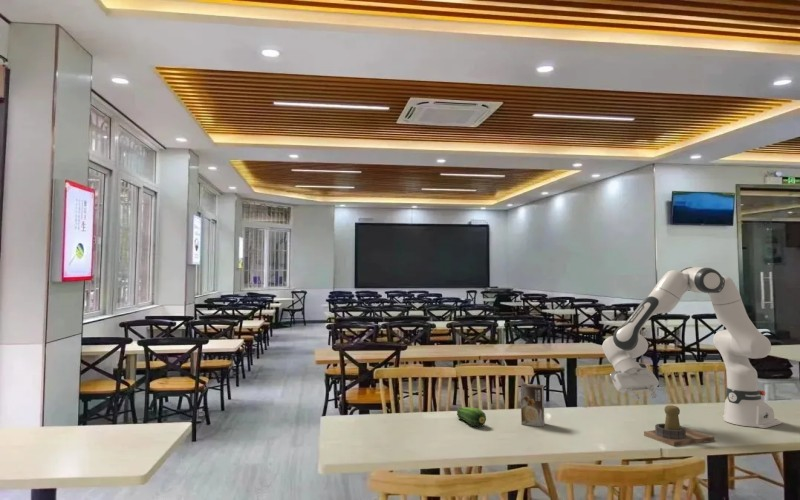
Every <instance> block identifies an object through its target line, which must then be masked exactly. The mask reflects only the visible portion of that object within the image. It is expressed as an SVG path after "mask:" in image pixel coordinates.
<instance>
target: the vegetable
mask: <svg viewBox="0 0 800 500" xmlns="http://www.w3.org/2000/svg"><path fill="white" fill-rule="evenodd" d="M456 416H457V417H458V419H460V420H462V421H464V422H466V423H468V424H469V425H471V426H472V427H479V428H480V427H483V426H484V424H485V423H486V421H487V416H486V414H485V412H484V411H483V410H481V408H478V407H477V408H476V407H467V406H465V407H464V406H463V407H459V408H458V409H457V410H456Z"/></svg>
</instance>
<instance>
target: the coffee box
mask: <svg viewBox="0 0 800 500" xmlns="http://www.w3.org/2000/svg"><path fill="white" fill-rule="evenodd" d="M544 394H545V393H544V385H543V384H533V383H522V384H521V386H520V408H521V409H520V413H521V414H520V416H521V417H520V419H521V421H520V422H521V425H523V426H532V427H544V426H545V397H544V396H545V395H544Z"/></svg>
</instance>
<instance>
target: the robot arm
mask: <svg viewBox="0 0 800 500" xmlns="http://www.w3.org/2000/svg"><path fill="white" fill-rule="evenodd" d="M688 291H689V292H694V293H698V294H699V293H705V294H707V295H709V298H710V300H711V304H712V307H713V309H714V313H715V316H716V319H717V321H718V322H719V323H720V324H721V325H722V326H724V328H725V329H723V330H719V331H717V332H716V333H715V334H714V335H713V338H712V339H713V340H712V342H713V346H714V347H715V348H716V350H717V351H718V352H719V353H720V356H721V357H722V361H723V363H724V367H725V372H726V387H725V394H726V398H725V400H724V412H723V414H722V418H723V420H724V422H727V423H729V424H732V425H733V424H734V425H737V426H744V427H751V428H752V427H753V428H760V429H766V428H771V427H774V426H778V425H782V421H781V420H780V419H777V418H775V411H774V409H773V407H772V406H770V405H769V404H768V403H766V401H764V400H763V399H762V396H766V392H765V390H761V389H760V390H759V384H758V371H757V370H756V368H755V367H754V366H753V365H752V363H751V362H750V359H763V358H766V357H768V355H769V354H771V351H772V344H771V341H770V340H769V338H768V337H767V336H765V335H764V334H763V333H761V332H760V330H758V328H757V327H756V326H755V325H754V323H753V322H752V320H751V319H750V318H749V315H748V313H747V310H746V307H745V305H744V303H743V300H742V296H741V294H740V291H739V290H738V287H737V285H736V284H735V282H734V279H733V278H731V277H730V276H727V275H721V274H720V272H719V271H717V270H716V269H714V268H711V267H706V266H705V267H704V266H693V267H692V266H689V267H686V268H684V269H682V270H677V269H672V270H668V271H667V272H666V273H665V274H663V276H662V277H661V278H660V279H659V281H657V283H656V284H655V286H654V288H653V289H652V291H651V292H650V293H649V294H648V296H646V298H644V299H643V300H642V301H641V303H640V304H639V305H638V306H637V307H636V308H635V310H634V311H633V312H632V313H631V315H630V316H629V317H628V319H627V320H626V321H625V322H624V323H622V324H621V325H620V326H618V327H617V328H616V329H615V330H614V332H613V335H612V336H608V337H606V338H605V340H603V343H602V345H601V348H602V351H603V353H604V355H605V357H606V359H607V360H608V362H609V363H610V364H612V367H613V369H614V371H611V372H610V374H609V377H610V379H611V381H612V383H613V385H614V388H615V389H616V391H618V392H619V393H626V394H627V395H629V396H630V397H631V398H633V400H634V401H638V400H639V399H640V396H639V394H638V393H637V394H636V393H635V392H636V391H649V392H650V393H651V394H650V396H651V398H652V399H656V398H657V397H658V394H657V393H656V388H657V387H658V386H659V385H660V383H659V382H660V381H659V379H658V378H657V377H656V375H655V374H654V372H652V371H651V370H650V369H649V366H648V365H647V364H646V363H642V362H638V361H635V359H637V358H639V357H641V356H643V355H645V354H646V353H647V351H648V349H649V342H648V340H647V339H646V338H645V337H644V336H643V335H641V334H640V332H641V330H642V328H643V327H644V326H645V324H646V323H647V322H648V321H649V319H650V318H651V317H652V316H654V315H656V314H667V313H671V311H673V310H674V309H675V308H676V306H677V305H678V303H679V302H680V300H681V299H682V297H683V295H684V294H685V293H686V292H688Z"/></svg>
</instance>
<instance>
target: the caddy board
mask: <svg viewBox="0 0 800 500" xmlns="http://www.w3.org/2000/svg"><path fill="white" fill-rule="evenodd" d="M664 428H665V423H656V424H655V429H654V430H646V431H643V436H645V437H647V438H650V439H653V440H656V441H658V442H660V443H661V442H662V443H664V444H666V445H669V446H672V447H679V446H686V445H694V444H700V443H707V442H709V443H710V442H715V437H714V436H713V435H709V434H706V433H703V432H700V431H697V430H694V429H690V428H687V427H685V426H681V425H680V429H681V430H668V429H664Z"/></svg>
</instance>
